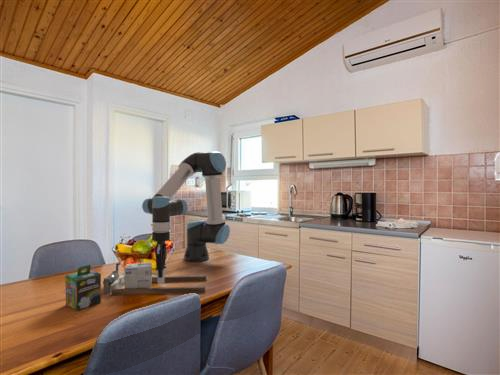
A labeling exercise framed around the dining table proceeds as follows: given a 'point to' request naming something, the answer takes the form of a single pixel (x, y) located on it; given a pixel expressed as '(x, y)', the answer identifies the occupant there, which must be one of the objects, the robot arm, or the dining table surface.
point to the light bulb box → (138, 275)
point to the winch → (111, 279)
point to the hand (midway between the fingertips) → (160, 283)
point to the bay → (121, 281)
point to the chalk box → (83, 288)
